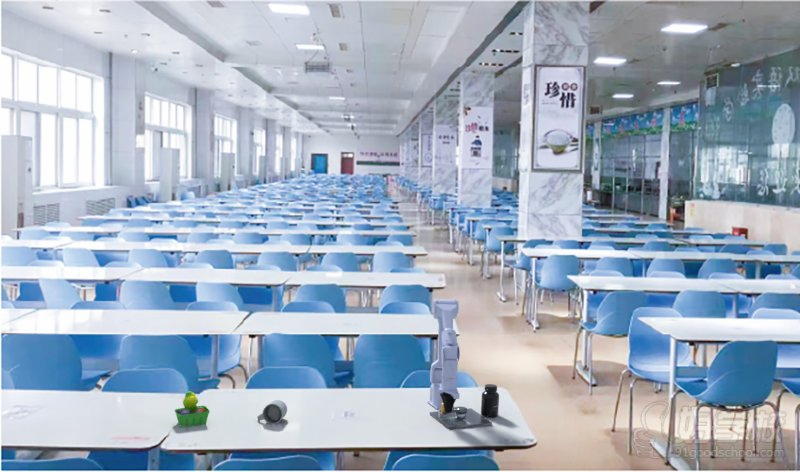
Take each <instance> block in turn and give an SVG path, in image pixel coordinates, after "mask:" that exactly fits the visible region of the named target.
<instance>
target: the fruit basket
mask: <svg viewBox="0 0 800 472" xmlns="http://www.w3.org/2000/svg"><path fill="white" fill-rule="evenodd" d="M198 403H199V399H198V398H197V396H196V393H194V392H193V391H186V392H185V395H184V398H183V400H182V405H183V407H181V408H180V407H179V408H175V409H174V412H175V416H176V418H177V419H176V420H177V423H178V424H179V426H180V427H181V428H185V427H192V426H193V427H194V426H200V425H206V424H207V422H208V417H209V414H210V412H211V410H210V409H209V408H208V407H207V406H206V405H197V404H198Z"/></svg>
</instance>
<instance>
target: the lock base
mask: <svg viewBox="0 0 800 472" xmlns="http://www.w3.org/2000/svg"><path fill="white" fill-rule="evenodd" d="M429 416H430V417H432V418H433V419H434V420H435V421H436V422H439V423H440V425H443V426H444V427H445V428H446V429H447V430H448V429H451V430H460V429H461V430H462V429H469V428H480V427H488V426H489V427H490V426H493V422H492V421H490V420H489V419H487V417H484V416H482V415H481V413H479V412H477V411H476V410H475V409H473V408H467V413H463V414H461V413H456V412H455V413H447V414H446V415H442V414H441V409H437V411H430V412H429Z"/></svg>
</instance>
